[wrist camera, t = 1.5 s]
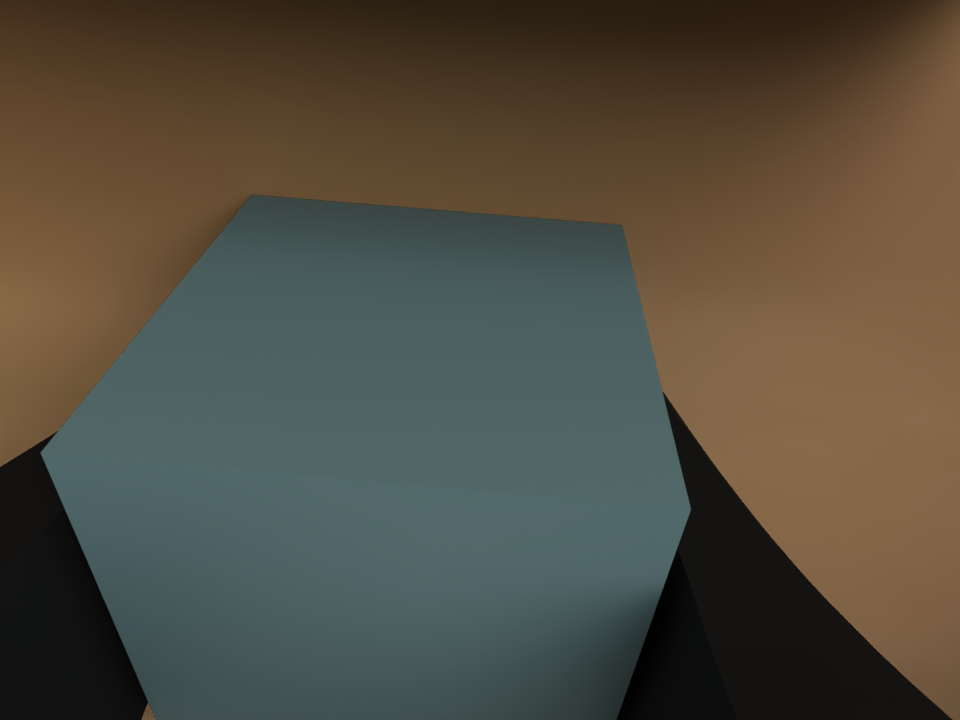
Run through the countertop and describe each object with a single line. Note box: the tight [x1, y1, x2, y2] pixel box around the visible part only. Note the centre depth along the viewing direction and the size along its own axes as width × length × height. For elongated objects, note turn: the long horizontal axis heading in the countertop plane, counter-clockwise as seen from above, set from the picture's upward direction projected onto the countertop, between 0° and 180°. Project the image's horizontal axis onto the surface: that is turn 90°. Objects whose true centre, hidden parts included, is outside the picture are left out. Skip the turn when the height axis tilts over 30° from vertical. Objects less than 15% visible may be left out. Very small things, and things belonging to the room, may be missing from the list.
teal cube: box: [41, 195, 691, 720], centre depth 9 cm, size 5×5×5 cm
